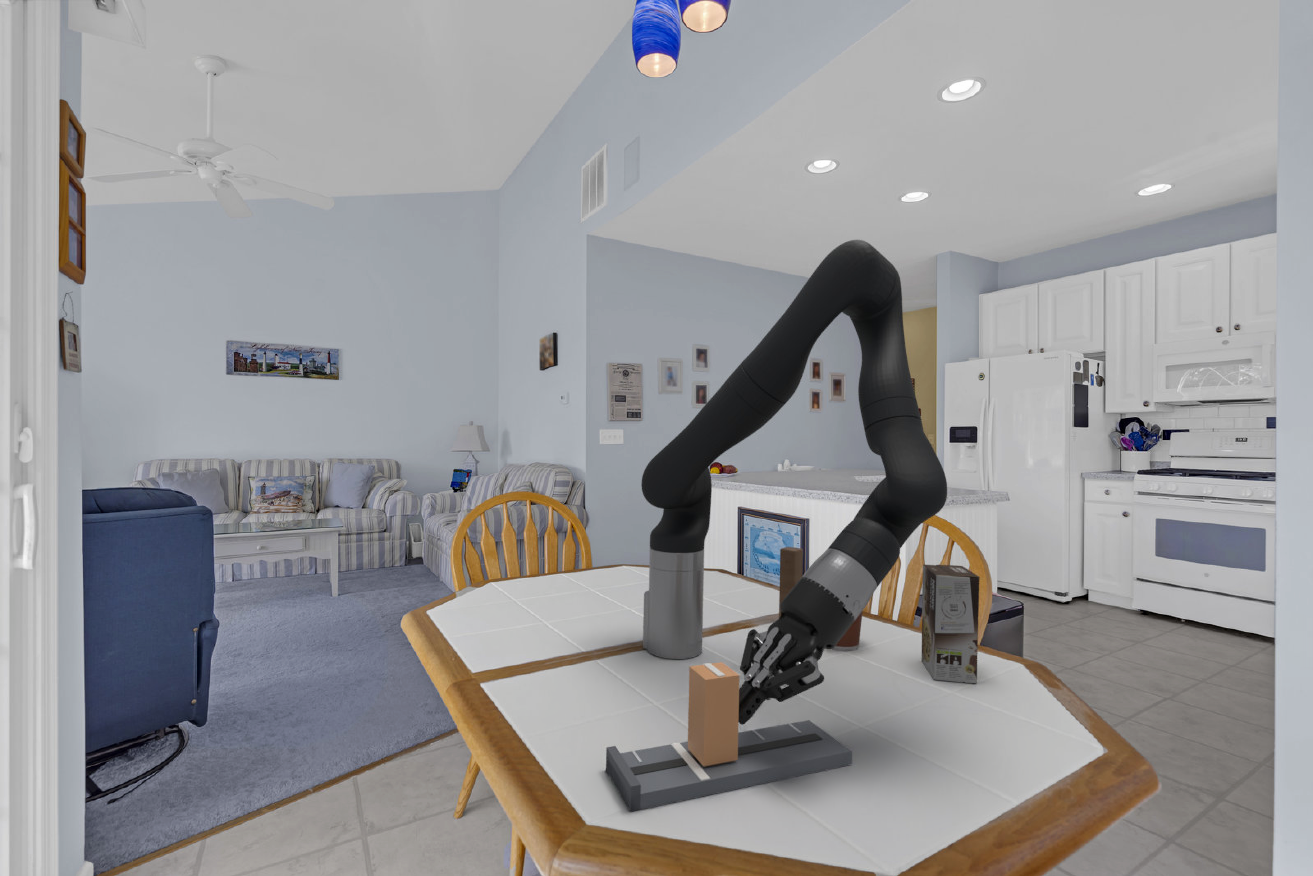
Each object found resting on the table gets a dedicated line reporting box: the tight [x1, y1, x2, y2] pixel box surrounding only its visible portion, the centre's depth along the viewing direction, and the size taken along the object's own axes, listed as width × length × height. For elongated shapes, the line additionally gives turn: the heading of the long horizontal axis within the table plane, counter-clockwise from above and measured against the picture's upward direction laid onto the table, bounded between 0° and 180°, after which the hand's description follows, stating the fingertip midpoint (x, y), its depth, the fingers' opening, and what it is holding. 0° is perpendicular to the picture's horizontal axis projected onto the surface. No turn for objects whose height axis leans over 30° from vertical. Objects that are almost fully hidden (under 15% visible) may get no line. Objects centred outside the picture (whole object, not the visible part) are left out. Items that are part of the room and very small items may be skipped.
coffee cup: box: [832, 610, 864, 652], centre depth 110 cm, size 9×9×12 cm
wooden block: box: [778, 546, 804, 619], centre depth 119 cm, size 7×3×15 cm, turn 48°
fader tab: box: [687, 661, 740, 766], centre depth 67 cm, size 4×4×9 cm
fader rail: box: [605, 719, 853, 813], centre depth 68 cm, size 26×8×2 cm, turn 112°
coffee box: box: [921, 564, 980, 684], centre depth 98 cm, size 9×6×16 cm
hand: (733, 717), depth 68 cm, fingers closed
